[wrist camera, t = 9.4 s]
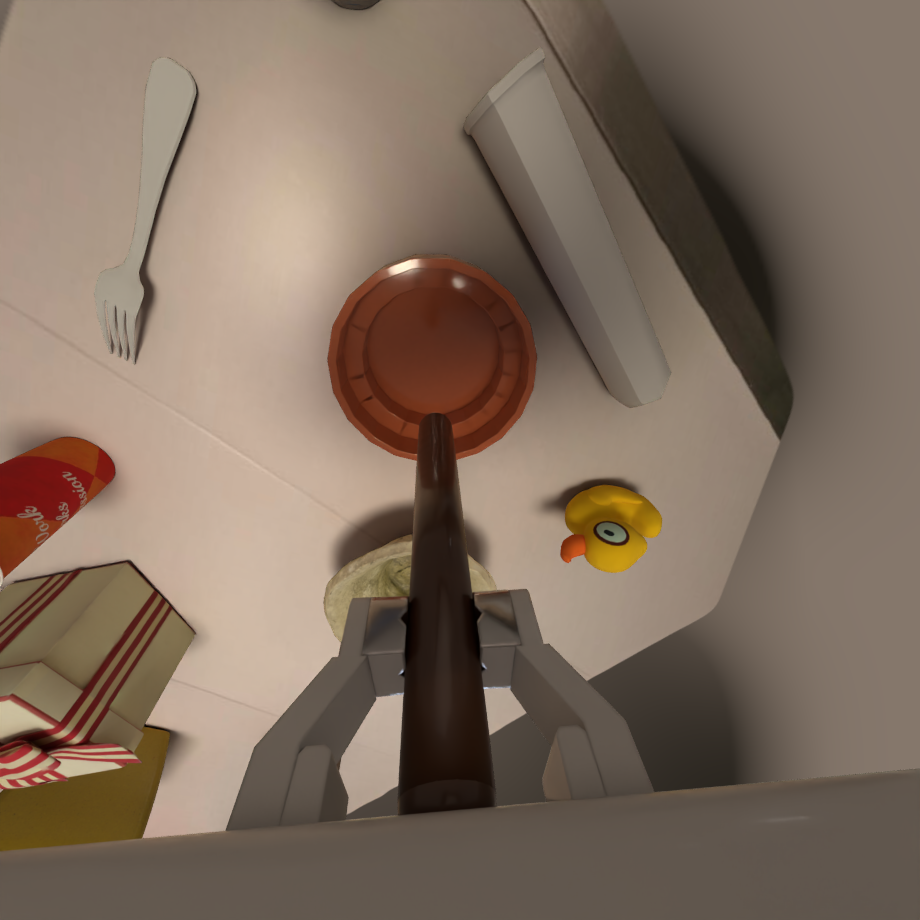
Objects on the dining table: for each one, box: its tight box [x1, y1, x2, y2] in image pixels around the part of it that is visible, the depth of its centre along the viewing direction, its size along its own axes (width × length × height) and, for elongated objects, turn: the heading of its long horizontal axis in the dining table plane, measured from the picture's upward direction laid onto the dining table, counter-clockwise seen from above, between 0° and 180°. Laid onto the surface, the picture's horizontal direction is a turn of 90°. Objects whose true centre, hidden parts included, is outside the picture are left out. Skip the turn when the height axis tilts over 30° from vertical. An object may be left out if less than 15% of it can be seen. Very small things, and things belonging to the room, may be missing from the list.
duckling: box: [560, 485, 662, 573], centre depth 38 cm, size 11×5×10 cm, turn 94°
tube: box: [463, 47, 671, 408], centre depth 28 cm, size 5×5×25 cm
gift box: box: [0, 562, 196, 789], centre depth 40 cm, size 17×18×17 cm
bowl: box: [323, 534, 497, 642], centre depth 40 cm, size 14×18×15 cm
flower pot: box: [0, 727, 170, 851], centre depth 55 cm, size 19×19×17 cm
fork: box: [94, 57, 197, 364], centre depth 27 cm, size 3×21×3 cm, turn 147°
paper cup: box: [0, 437, 115, 587], centre depth 30 cm, size 8×8×14 cm
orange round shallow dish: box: [327, 254, 537, 461], centre depth 30 cm, size 15×15×6 cm
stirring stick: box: [398, 413, 497, 815], centre depth 13 cm, size 2×2×17 cm
